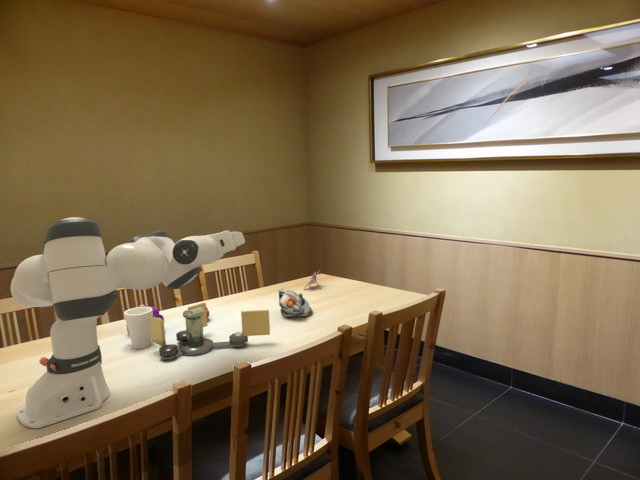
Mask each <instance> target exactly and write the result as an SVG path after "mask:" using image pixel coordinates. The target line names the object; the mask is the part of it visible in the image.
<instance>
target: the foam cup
mask: <svg viewBox="0 0 640 480" xmlns="http://www.w3.org/2000/svg"><path fill="white" fill-rule="evenodd" d="M150 307H151V306H150ZM150 307H139V306H137V307H133V308H130V309H127V310H124V312H123V314H124V320H125V324H126V323H127V324H126V328H127V327H128V331H129V333H128V335H129V338H130V342H131V345H132V347H131V348H132V349H135V350H141V349H145V348H149V347H150V346H151V345H152V339H151V329H150V318H149V317H152V316H153V310H152V308H150ZM128 331H127V332H128Z"/></svg>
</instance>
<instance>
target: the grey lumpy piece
mask: <svg viewBox="0 0 640 480" xmlns="http://www.w3.org/2000/svg"><path fill="white" fill-rule="evenodd" d="M278 303H279V305H278V306H279V307H280V314H281V315H282V316H283V317H284V318H289V317H309V316H310V315H311V314H312V313H313V311H314V310H313V309H312V307H311V306H310V304H309V302H308V300H307V299H306V298H305V297H303V293H301V292H300V293H299V294H298V293H297V292H295V291H293V290H290V289H287V290H285V291H284V290H283V289H282V288H281V289H278Z"/></svg>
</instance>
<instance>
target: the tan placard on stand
mask: <svg viewBox="0 0 640 480" xmlns="http://www.w3.org/2000/svg"><path fill="white" fill-rule="evenodd" d="M240 313H241V315H240V316H241V330H242V331H241V332H235V333H231V334H230V335H229V337H228V338H229V339H228V340H229V341H230V344H233V345H241V344H245V345H246V344H247V343H248V342H249V337H255V336H269V335H271V329H270V328H271V327H270V309H269V308H268V309H253V310H251V309H249V310H248V309H247V310H241V312H240Z"/></svg>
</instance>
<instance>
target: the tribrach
mask: <svg viewBox="0 0 640 480" xmlns="http://www.w3.org/2000/svg"><path fill="white" fill-rule="evenodd" d="M206 307H207V303H206V302H201V303H198V304H194V305H192V306H188V307H187V309H186V310H184V311H183V312H182V317H183V318H185V328H186V329H185V330H181V331H178V332H176V334H175V336H176V337H175V338H176V341H177V342H178V344H167V341H166V331H165V319H164V320H161V319H159V318H156V317H153V316H152V317H149V318H150V329H151V343H153V344H155V345H158V346H159V349H158V352H159V357H161V359H162V360H163V361H165V362H170V361H173V360H175V359H177V358H180V357H182V356H183V357H184V356H186V357H198V356H202V354H203V355H206V354H208V353H210V352H211V351H213V350H222V349H223V348H224V349H241V348H244V347H245V346H246V343H245V344H241V345H233V344H230V340H229V341H217V342H214V341H213V340H212V339H211V338H206V337H204V328H205V327H208V319H207V312H206ZM212 349H213V350H212ZM224 349H223V350H224ZM209 351H210V352H209ZM205 353H206V354H205Z"/></svg>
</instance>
